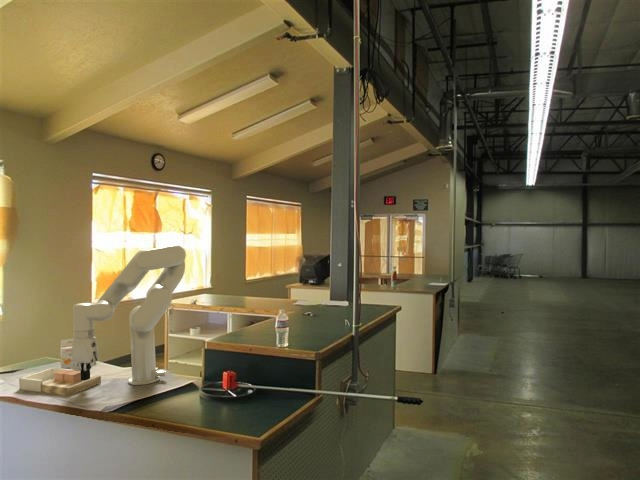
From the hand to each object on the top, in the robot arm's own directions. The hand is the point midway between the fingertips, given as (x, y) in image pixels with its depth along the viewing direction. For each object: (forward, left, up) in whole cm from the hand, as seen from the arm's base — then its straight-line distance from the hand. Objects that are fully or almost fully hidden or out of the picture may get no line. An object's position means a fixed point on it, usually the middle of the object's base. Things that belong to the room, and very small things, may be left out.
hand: (85, 379), depth 197 cm
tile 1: (+11, -5, -1) cm, 12 cm away
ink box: (+18, -27, -4) cm, 32 cm away
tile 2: (+6, -3, -1) cm, 7 cm away
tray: (+20, -9, -4) cm, 22 cm away
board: (+7, -3, -4) cm, 9 cm away
